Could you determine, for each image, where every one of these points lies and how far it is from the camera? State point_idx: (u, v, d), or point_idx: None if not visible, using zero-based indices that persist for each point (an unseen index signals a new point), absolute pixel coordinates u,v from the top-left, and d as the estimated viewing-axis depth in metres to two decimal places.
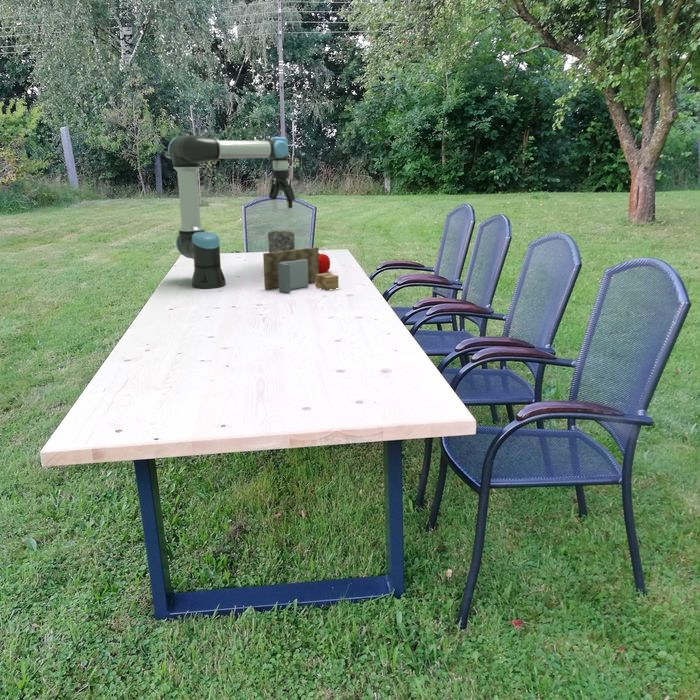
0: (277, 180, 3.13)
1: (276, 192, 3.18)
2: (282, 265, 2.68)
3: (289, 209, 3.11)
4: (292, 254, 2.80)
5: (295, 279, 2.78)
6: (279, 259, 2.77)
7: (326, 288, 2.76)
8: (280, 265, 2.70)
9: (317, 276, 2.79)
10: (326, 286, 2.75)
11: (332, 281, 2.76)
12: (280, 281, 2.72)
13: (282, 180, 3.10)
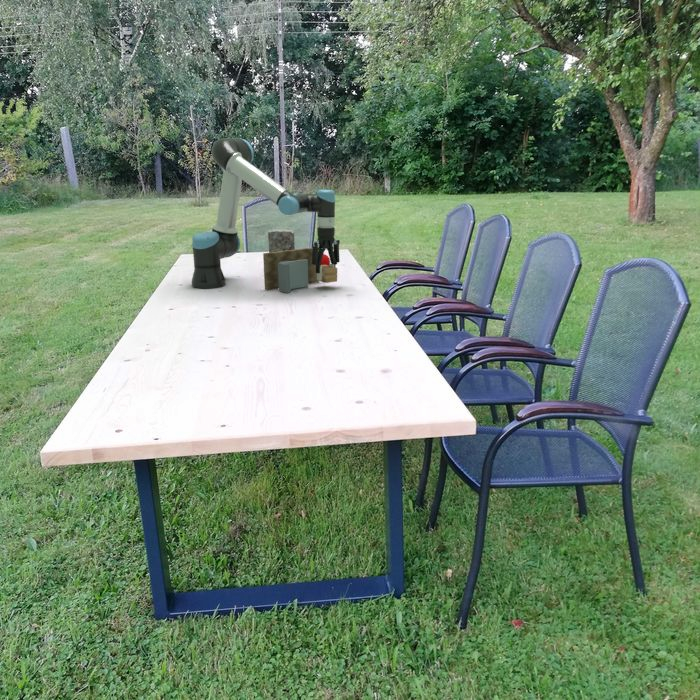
0: None
1: (330, 253, 2.78)
2: (282, 265, 2.68)
3: (318, 274, 2.77)
4: (292, 254, 2.80)
5: (295, 279, 2.78)
6: (279, 259, 2.77)
7: (325, 280, 2.75)
8: (280, 265, 2.70)
9: None
10: (325, 278, 2.75)
11: (331, 273, 2.75)
12: (280, 281, 2.72)
13: None
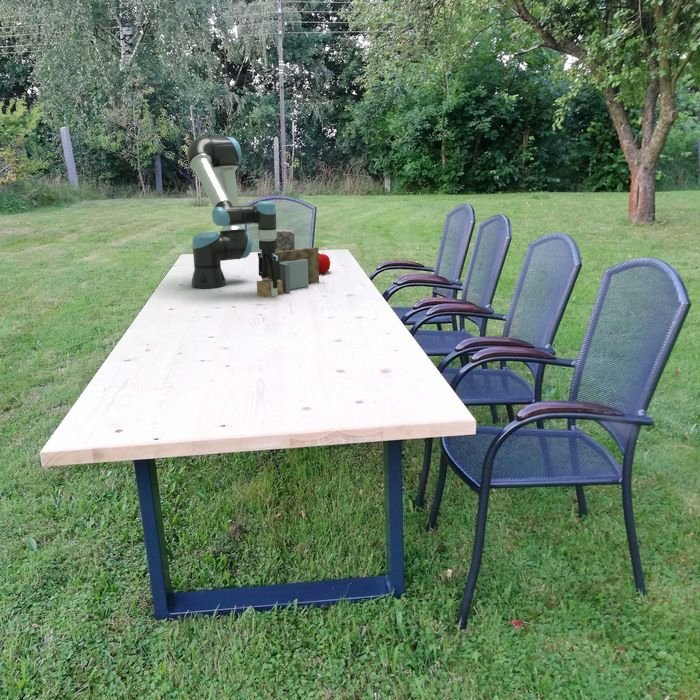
0: (263, 250, 2.64)
1: (265, 267, 2.67)
2: (282, 265, 2.68)
3: (274, 290, 2.65)
4: (292, 254, 2.80)
5: (295, 279, 2.78)
6: (279, 259, 2.77)
7: (281, 292, 2.68)
8: (280, 265, 2.70)
9: (267, 284, 2.63)
10: (281, 290, 2.68)
11: None
12: None
13: (270, 252, 2.60)
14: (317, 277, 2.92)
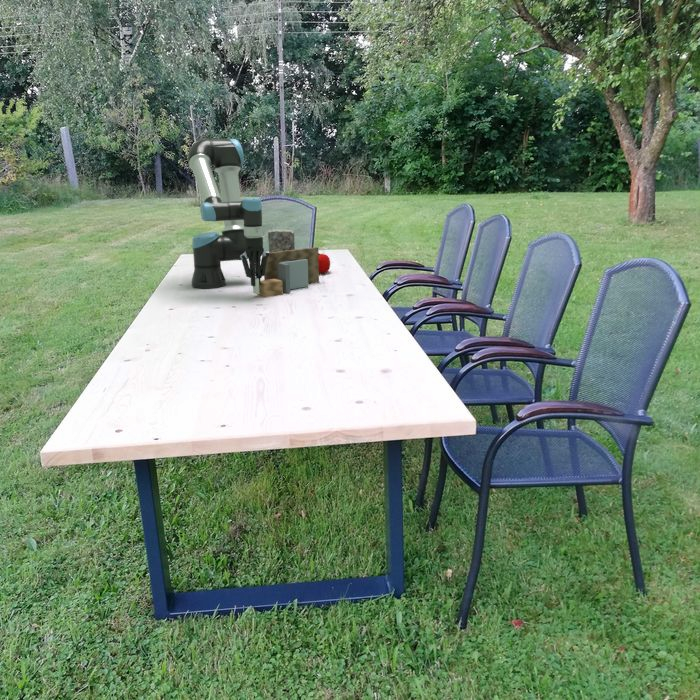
0: None
1: (256, 265, 2.61)
2: (282, 265, 2.68)
3: (254, 287, 2.63)
4: (292, 254, 2.80)
5: (295, 279, 2.78)
6: (279, 259, 2.77)
7: (281, 292, 2.68)
8: (280, 265, 2.70)
9: (267, 284, 2.63)
10: (281, 290, 2.68)
11: None
12: None
13: None
14: (317, 277, 2.92)
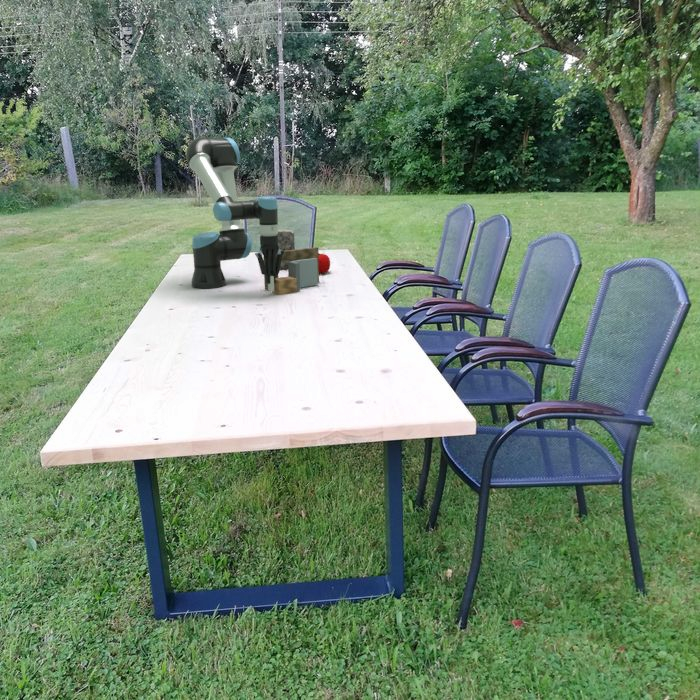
0: None
1: (271, 263, 2.65)
2: (292, 264, 2.71)
3: (269, 285, 2.67)
4: (292, 254, 2.80)
5: (305, 278, 2.81)
6: None
7: (295, 289, 2.72)
8: (290, 264, 2.73)
9: (282, 282, 2.67)
10: (295, 287, 2.72)
11: None
12: None
13: None
14: None
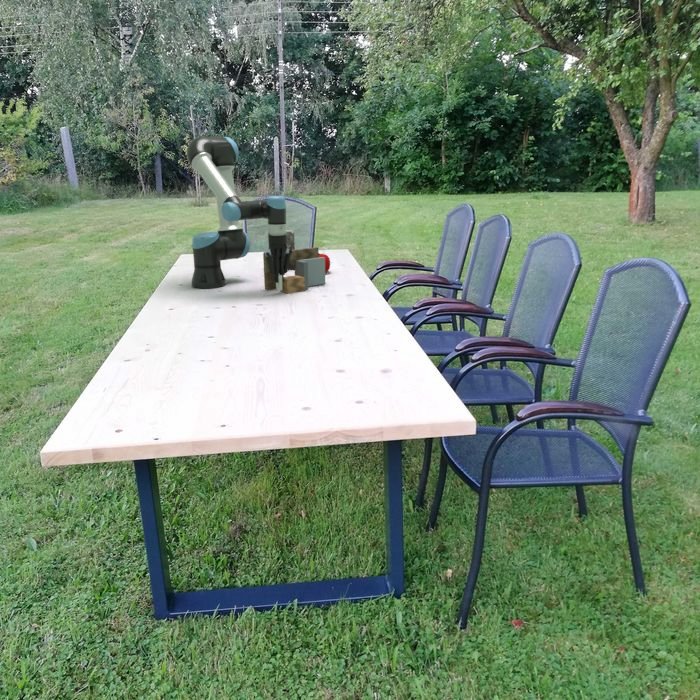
0: None
1: (279, 262, 2.68)
2: (300, 263, 2.74)
3: (277, 284, 2.70)
4: (292, 254, 2.80)
5: (313, 276, 2.83)
6: None
7: (303, 288, 2.75)
8: (298, 263, 2.75)
9: (290, 280, 2.70)
10: (303, 286, 2.74)
11: None
12: None
13: None
14: None
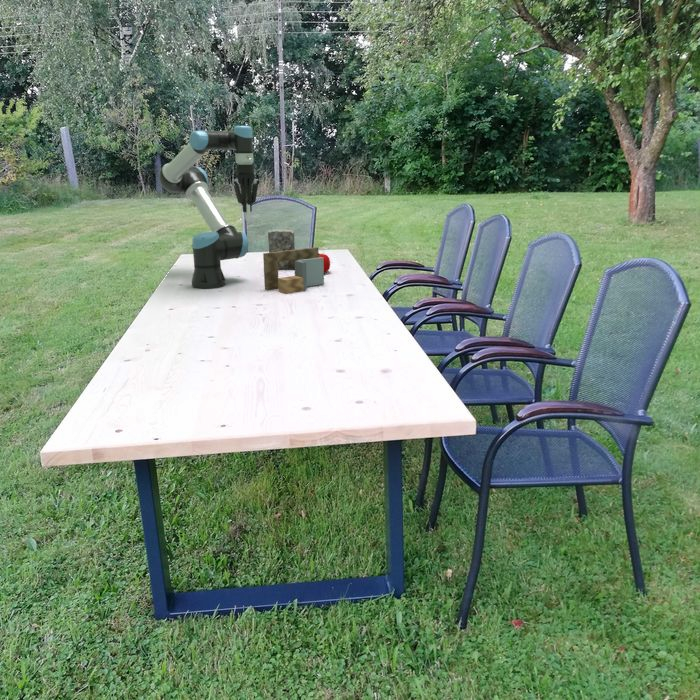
0: None
1: (247, 192, 2.75)
2: (299, 263, 2.74)
3: (245, 213, 2.77)
4: (292, 254, 2.80)
5: (311, 277, 2.83)
6: (279, 259, 2.77)
7: (301, 289, 2.74)
8: (297, 263, 2.75)
9: (288, 281, 2.69)
10: (301, 287, 2.74)
11: None
12: None
13: None
14: None
